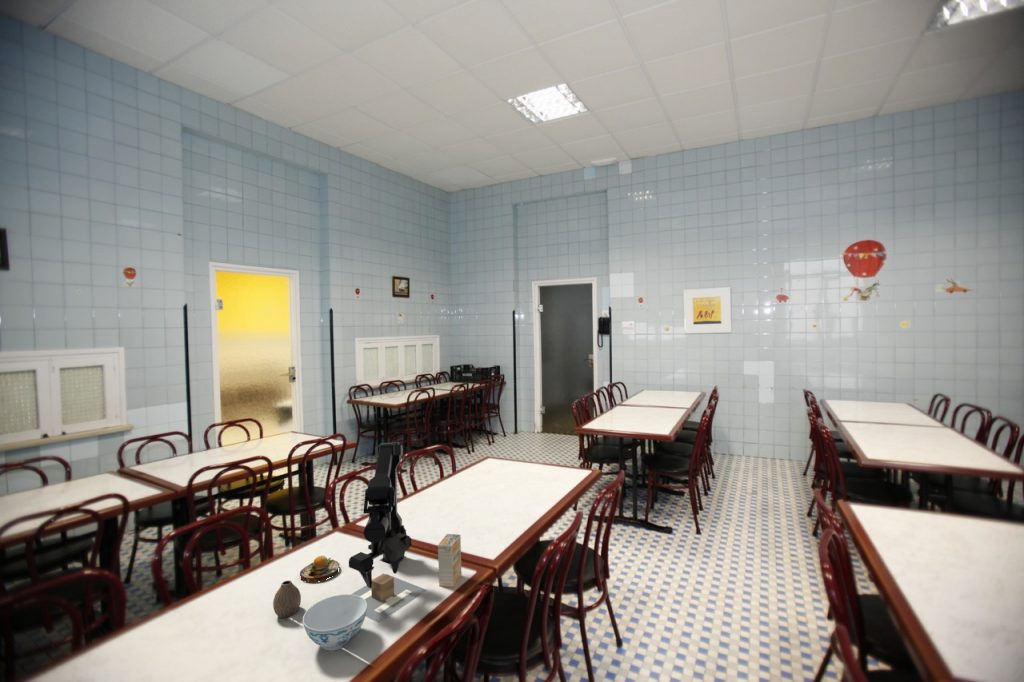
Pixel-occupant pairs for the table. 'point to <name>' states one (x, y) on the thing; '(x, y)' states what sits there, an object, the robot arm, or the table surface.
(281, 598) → the vase
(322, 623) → the chinaware
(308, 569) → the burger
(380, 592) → the walnut block
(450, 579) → the supplement box
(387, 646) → the table surface
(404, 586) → the letter board
